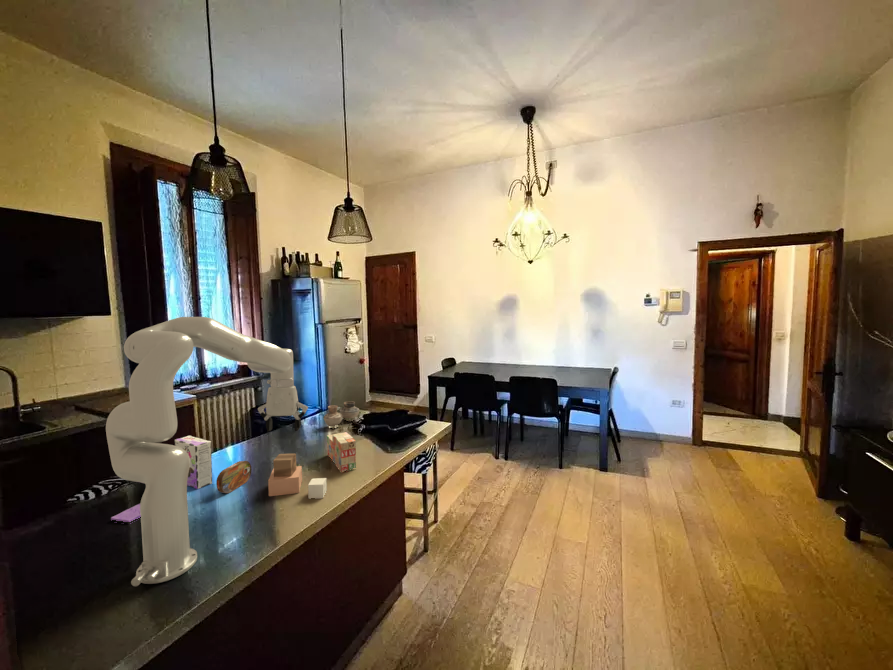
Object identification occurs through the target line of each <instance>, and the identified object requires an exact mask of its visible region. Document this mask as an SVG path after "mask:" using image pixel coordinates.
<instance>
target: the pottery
mask: <svg viewBox="0 0 893 670" xmlns="http://www.w3.org/2000/svg"><path fill="white" fill-rule="evenodd" d="M355 404H356V402H355V401H352V400H351V401H350V400H349V401H344V402H343V407H342V408H340V409H339V412H338V408H339V407H338V405H335V404H334V405H329V406H327V408H328V413H326V414H324V416H323V420H324V422H325V424H326V425H327V427H328V426H335V425H338V424H339V425H340V423H341V422H342V420H343V419H344V418H354V417H356V418H357V417H358V416H359V414H360V408H358V407H357V406H355Z"/></svg>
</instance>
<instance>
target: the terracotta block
mask: <svg viewBox="0 0 893 670" xmlns="http://www.w3.org/2000/svg"><path fill="white" fill-rule="evenodd" d="M267 483H268V497H273V496H282V495H283V496H284V495H291V494H299V493H300V491H301V486H302V484H303V468H302V465H298V466H297V465H296V470H295V472H294V473H293V475H292V476H284V477H274V468H273V469H272V471H271V473H270V475H269V478H268V480H267Z"/></svg>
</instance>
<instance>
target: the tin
mask: <svg viewBox="0 0 893 670" xmlns="http://www.w3.org/2000/svg"><path fill="white" fill-rule="evenodd" d="M251 475H252V464H251V463H250V462H249V461H248V460H240V461H237V462H235V463H233V464H231V465H230V466H228V467H226V468H224V469H223V470H221V471H220V472H219V474H218V475H217V477H216V480H215V482H216V483H215V485H216V489H217V491H218V492H219V493H221V494H231V493H233V492H234V491H235V490H238V488H240V487H241V486H243V485H244V484H246V483H247V482H248V481H249V479H250V478H251Z"/></svg>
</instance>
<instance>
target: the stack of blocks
mask: <svg viewBox="0 0 893 670" xmlns="http://www.w3.org/2000/svg"><path fill="white" fill-rule="evenodd" d="M356 441H357V440H356V439H354V437H353V436H352V435H350V434H349V433H348V432H347V431H345V432H339V433H333V434H327V435H326V444H327V447H326V448H327V456H328V455H329V456H328V458H329V457H330V458H331V459H332V460H333V461H334V463H335V464H336V465H335V464H334V463H333V464H334V465H335V466H336V468H337V467H338V468H339V469H338V468H337V469H338V470H340V471H341V472H342V471H346V470H350V469H353V468H357V467H356V466H357V462H356V458H357V455H356V453H357V452H356V447H357V445H356V444H357V442H356ZM330 458H329V459H330ZM331 459H330V460H331ZM332 460H331V461H332ZM340 471H339V472H340ZM350 471H351V470H350ZM341 472H340V473H341ZM346 472H347V471H346ZM342 473H343V472H342Z"/></svg>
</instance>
